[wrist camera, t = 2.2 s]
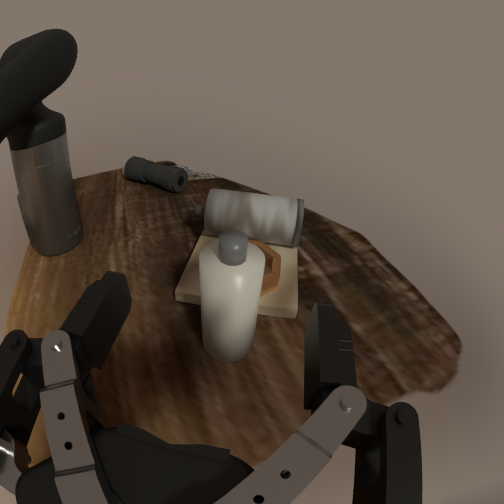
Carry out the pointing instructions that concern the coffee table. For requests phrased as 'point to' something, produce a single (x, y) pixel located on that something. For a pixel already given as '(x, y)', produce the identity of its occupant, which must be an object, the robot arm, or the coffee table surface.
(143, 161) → the flashlight
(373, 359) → the coffee table surface
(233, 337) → the white capped bottle
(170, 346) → the coffee table surface
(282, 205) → the motor mount
